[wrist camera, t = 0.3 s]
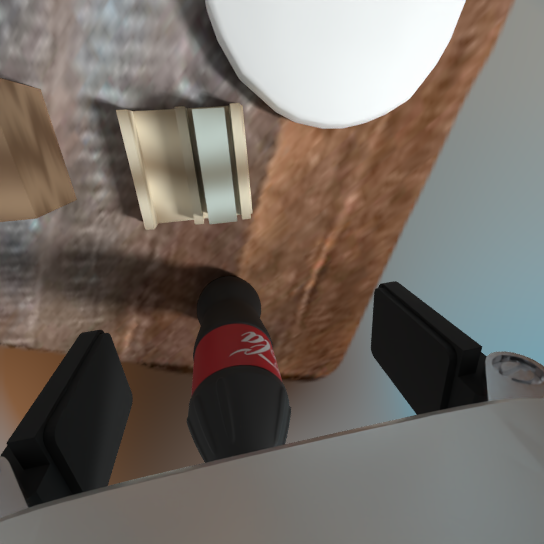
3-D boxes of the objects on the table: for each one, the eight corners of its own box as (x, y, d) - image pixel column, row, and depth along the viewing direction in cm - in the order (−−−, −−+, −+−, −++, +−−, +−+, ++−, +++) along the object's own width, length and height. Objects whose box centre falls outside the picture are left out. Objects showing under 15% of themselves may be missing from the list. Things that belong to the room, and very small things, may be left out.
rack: (120, 112, 32) (102, 108, 27) (241, 105, 34) (247, 99, 29) (146, 222, 37) (136, 236, 32) (251, 211, 39) (257, 223, 34)
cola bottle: (247, 327, 46) (297, 595, 19) (191, 316, 44) (158, 605, 17) (265, 278, 43) (353, 510, 16) (206, 263, 41) (198, 508, 14)
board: (7, 91, 30) (-68, 73, 22) (40, 89, 30) (-22, 72, 22) (48, 202, 35) (-1, 222, 27) (76, 199, 35) (36, 218, 27)
